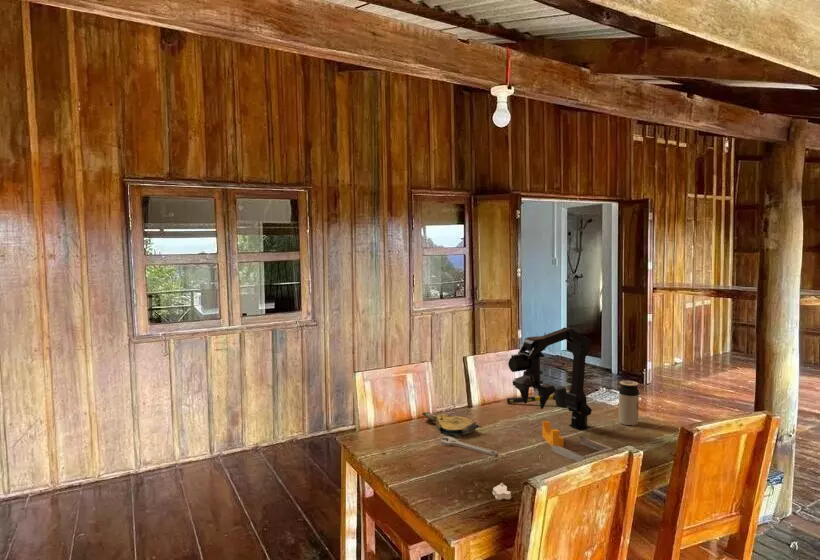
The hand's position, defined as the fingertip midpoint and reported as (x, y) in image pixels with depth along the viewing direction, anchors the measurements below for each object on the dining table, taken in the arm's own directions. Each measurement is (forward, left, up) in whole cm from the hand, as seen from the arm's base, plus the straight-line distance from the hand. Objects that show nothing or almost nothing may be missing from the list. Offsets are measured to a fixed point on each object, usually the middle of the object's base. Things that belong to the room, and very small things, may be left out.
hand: (533, 406), depth 222 cm
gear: (+45, +33, -13) cm, 57 cm away
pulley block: (+24, -27, -13) cm, 38 cm away
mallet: (-32, -31, -13) cm, 46 cm away
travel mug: (-46, +11, -13) cm, 49 cm away
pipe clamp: (-2, +8, -13) cm, 16 cm away
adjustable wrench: (+31, -4, -13) cm, 34 cm away
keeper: (-2, +23, -13) cm, 26 cm away
